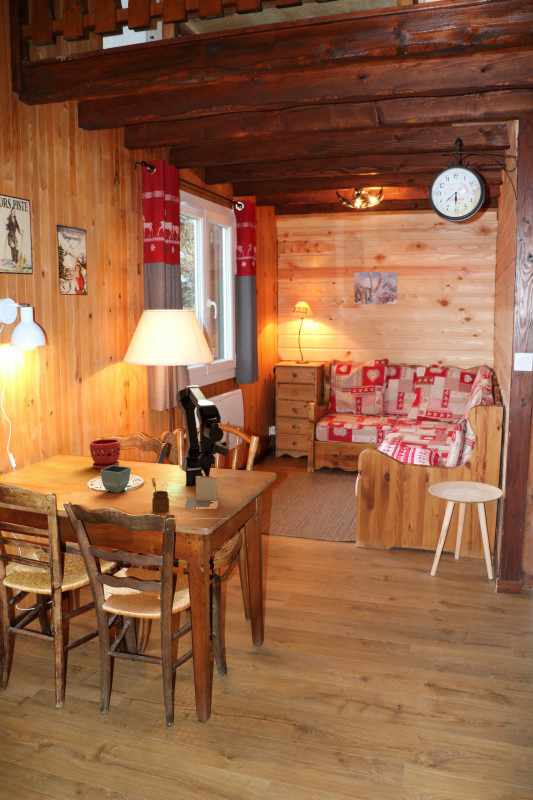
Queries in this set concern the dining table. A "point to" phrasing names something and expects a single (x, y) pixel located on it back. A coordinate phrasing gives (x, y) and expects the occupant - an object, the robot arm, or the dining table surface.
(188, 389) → the robot arm
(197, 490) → the block
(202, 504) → the slate mat
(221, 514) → the dining table surface
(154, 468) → the dining table surface
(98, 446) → the plant pot
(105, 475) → the flower pot
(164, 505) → the utensil holder
